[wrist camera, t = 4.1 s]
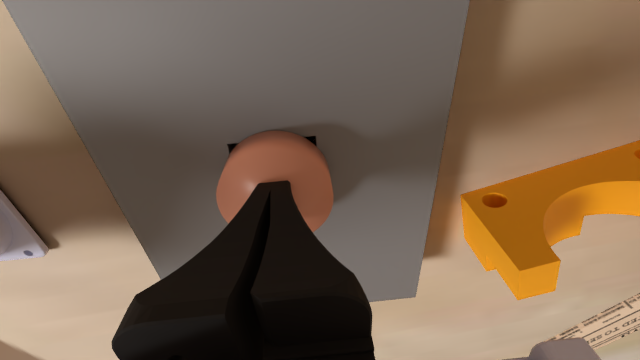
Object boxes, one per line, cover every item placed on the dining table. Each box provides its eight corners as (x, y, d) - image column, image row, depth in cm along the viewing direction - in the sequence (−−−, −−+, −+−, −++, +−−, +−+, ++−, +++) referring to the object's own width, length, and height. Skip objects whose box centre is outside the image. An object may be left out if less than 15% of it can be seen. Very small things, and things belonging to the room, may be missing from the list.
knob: (244, 191, 18) (231, 247, 14) (224, 112, 15) (201, 156, 11) (326, 183, 18) (335, 237, 14) (321, 103, 15) (330, 144, 12)
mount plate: (196, 284, 23) (184, 321, 20) (13, -104, 11) (-72, -129, 8) (402, 263, 23) (415, 297, 21) (454, -136, 11) (500, -170, 9)
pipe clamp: (463, 236, 22) (516, 317, 17) (459, 193, 20) (519, 271, 15) (635, 187, 21) (752, 259, 16) (652, 134, 19) (798, 197, 13)
